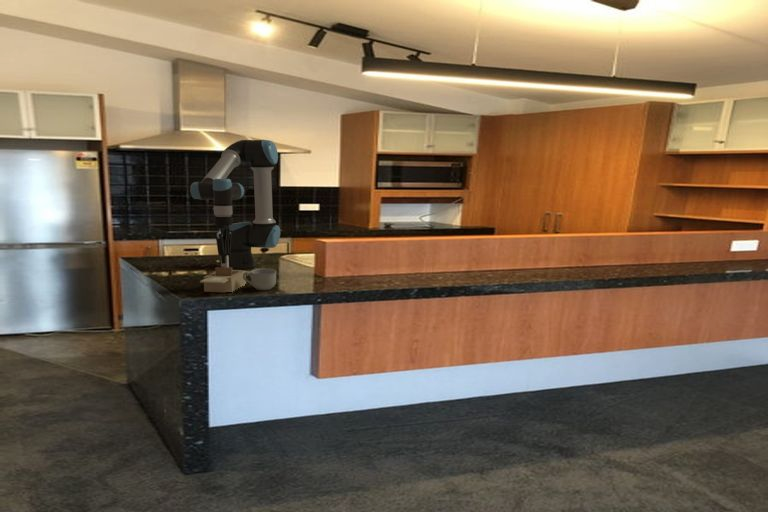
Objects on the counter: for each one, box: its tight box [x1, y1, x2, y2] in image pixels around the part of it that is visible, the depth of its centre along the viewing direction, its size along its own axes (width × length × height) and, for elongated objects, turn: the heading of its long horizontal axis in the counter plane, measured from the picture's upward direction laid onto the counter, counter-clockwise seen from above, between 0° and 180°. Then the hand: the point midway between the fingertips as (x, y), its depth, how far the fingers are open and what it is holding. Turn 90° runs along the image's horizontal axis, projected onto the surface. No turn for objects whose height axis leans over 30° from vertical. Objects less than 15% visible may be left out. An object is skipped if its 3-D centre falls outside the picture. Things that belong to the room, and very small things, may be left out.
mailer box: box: [203, 269, 247, 293], centre depth 227 cm, size 16×12×6 cm
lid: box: [199, 266, 233, 284], centre depth 219 cm, size 14×10×4 cm
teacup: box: [243, 268, 277, 291], centre depth 226 cm, size 14×11×8 cm
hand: (225, 270), depth 226 cm, fingers closed
